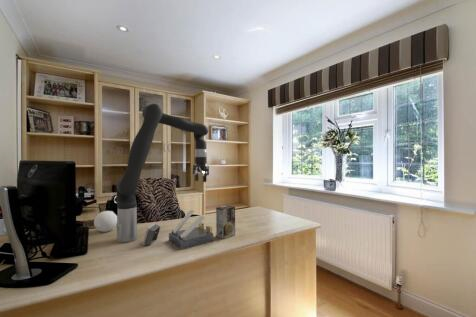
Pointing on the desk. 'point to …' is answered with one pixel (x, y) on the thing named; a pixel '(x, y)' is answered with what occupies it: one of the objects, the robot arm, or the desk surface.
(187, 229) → the near strap
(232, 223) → the coffee box
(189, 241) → the clamp block
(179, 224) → the far strap
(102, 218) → the decorative ball
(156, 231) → the grey irregular chunk
